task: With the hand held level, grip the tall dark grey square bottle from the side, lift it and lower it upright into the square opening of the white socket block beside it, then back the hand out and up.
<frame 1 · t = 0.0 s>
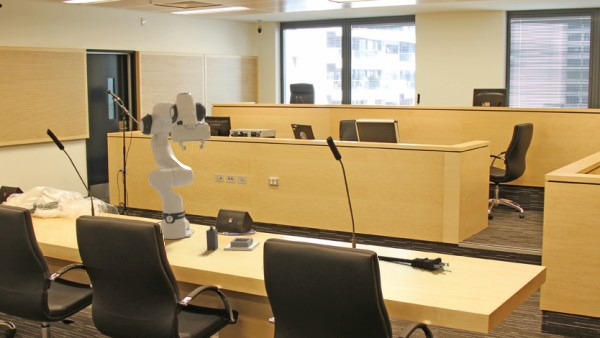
hand: (193, 149, 373), 52 cm above the table, tool tilted 20°, fingers open, 8 cm apart
small box: (277, 261, 353), on the table
socket: (242, 246, 383), on the table
dark grey square bottle: (212, 248, 381), on the table
electrical plug: (406, 265, 340), on the table
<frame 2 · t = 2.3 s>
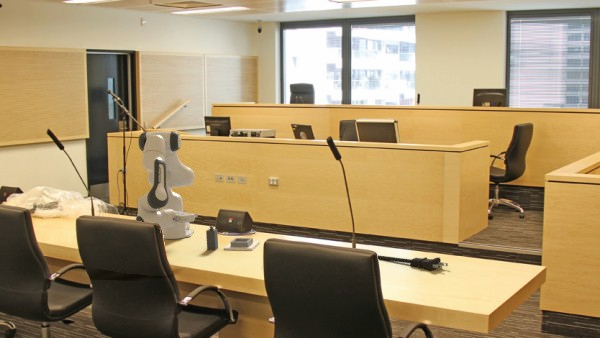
hand: (191, 213, 370), 20 cm above the table, tool horizontal, fingers open, 8 cm apart
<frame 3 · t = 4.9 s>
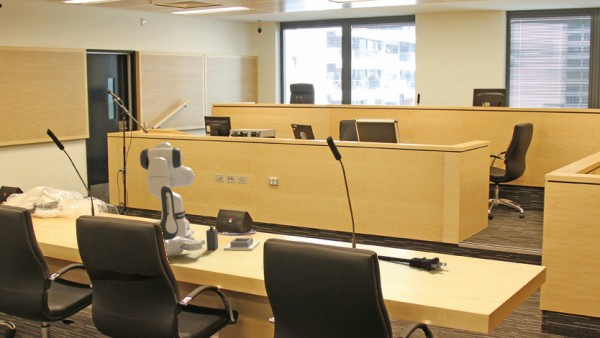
hand: (198, 240, 374), 6 cm above the table, tool horizontal, fingers open, 8 cm apart
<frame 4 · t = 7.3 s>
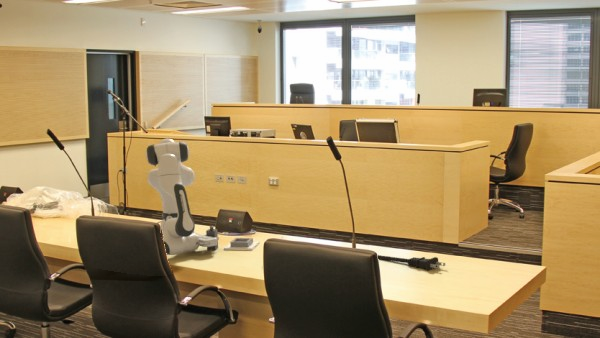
hand: (213, 237, 380), 6 cm above the table, tool horizontal, fingers closed on dark grey square bottle, 6 cm apart
dark grey square bottle: (212, 248, 381), on the table, touching gripper
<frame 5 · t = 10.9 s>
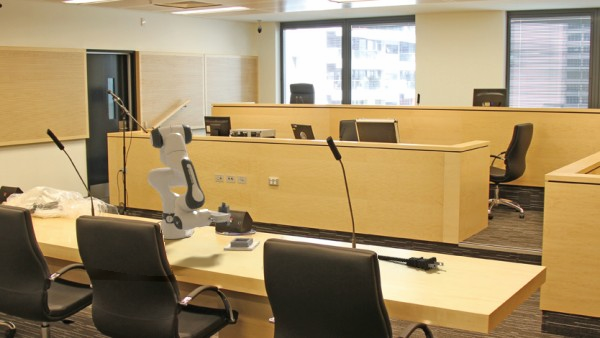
hand: (225, 213, 380), 18 cm above the table, tool horizontal, fingers closed on dark grey square bottle, 6 cm apart
dark grey square bottle: (224, 225, 380), point 12 cm above the table, touching gripper
when the fingers open (8 cm above the table, at t = 14.5 s): dark grey square bottle drops 1 cm, resting on socket.
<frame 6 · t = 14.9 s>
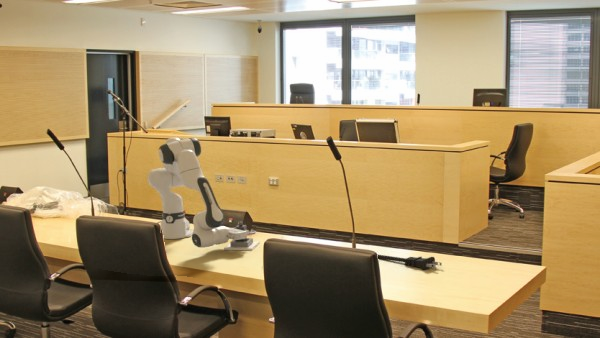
hand: (242, 230, 383), 8 cm above the table, tool horizontal, fingers open, 8 cm apart
dark grey square bottle: (241, 244, 383), point 1 cm above the table, touching socket
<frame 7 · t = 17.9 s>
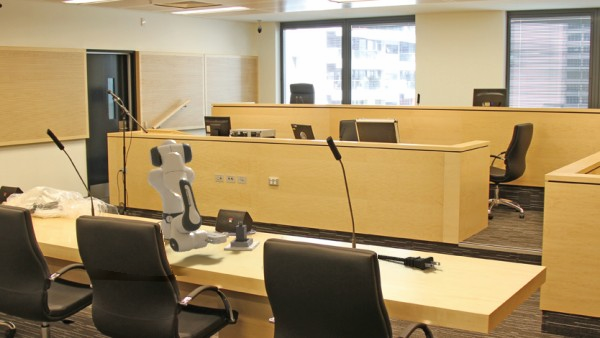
hand: (222, 234, 374), 9 cm above the table, tool horizontal, fingers open, 8 cm apart
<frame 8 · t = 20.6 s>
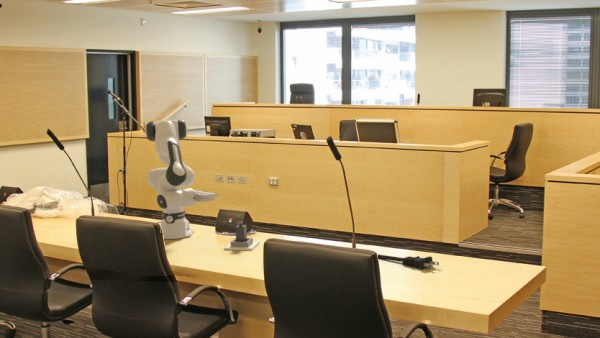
hand: (211, 193, 371), 30 cm above the table, tool horizontal, fingers open, 8 cm apart
at the end: dark grey square bottle 0.1 cm off-centre on the socket, point 1.0 cm above the socket's base; dark grey square bottle tilted 0°; the gripper is holding nothing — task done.
